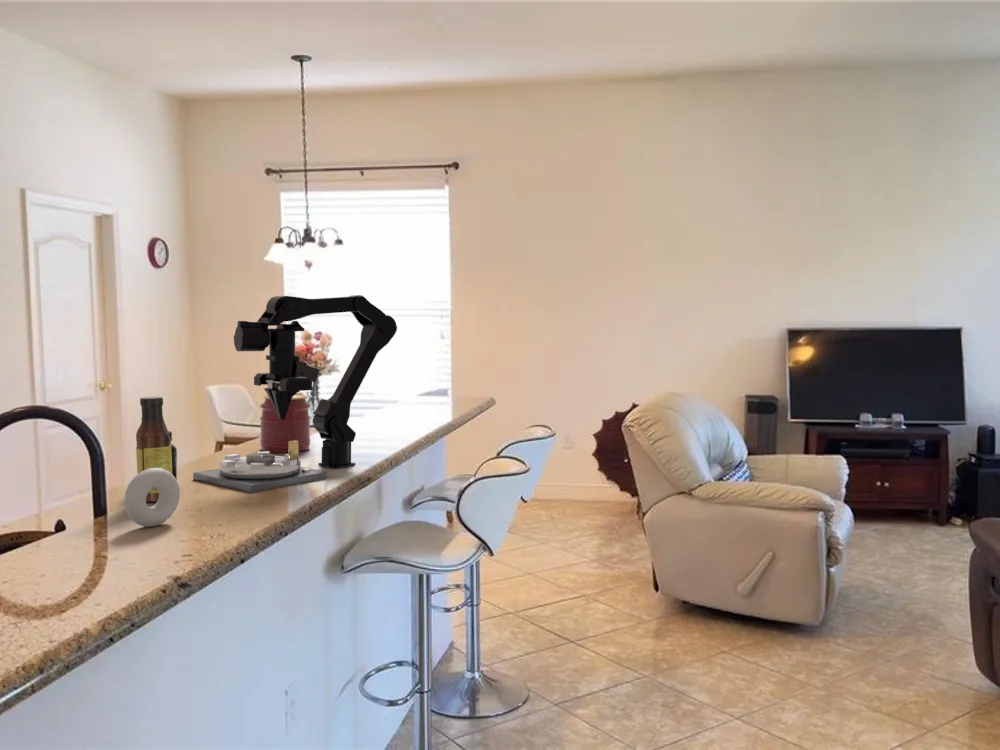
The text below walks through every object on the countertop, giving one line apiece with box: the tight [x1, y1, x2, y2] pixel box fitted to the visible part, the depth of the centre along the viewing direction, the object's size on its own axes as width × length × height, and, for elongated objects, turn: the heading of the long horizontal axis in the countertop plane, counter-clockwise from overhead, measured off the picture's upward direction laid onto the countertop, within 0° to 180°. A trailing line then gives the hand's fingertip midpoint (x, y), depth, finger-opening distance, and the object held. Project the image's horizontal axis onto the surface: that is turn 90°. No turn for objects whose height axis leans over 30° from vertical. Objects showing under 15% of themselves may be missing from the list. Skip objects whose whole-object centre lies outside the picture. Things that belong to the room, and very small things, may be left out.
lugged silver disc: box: [219, 441, 302, 479], centre depth 184 cm, size 17×17×6 cm
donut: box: [123, 468, 181, 528], centre depth 142 cm, size 10×4×10 cm, turn 148°
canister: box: [259, 391, 311, 454], centre depth 223 cm, size 13×13×18 cm
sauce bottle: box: [135, 396, 172, 503], centre depth 161 cm, size 7×6×20 cm
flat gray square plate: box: [192, 466, 328, 494], centre depth 184 cm, size 20×20×2 cm
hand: (282, 419), depth 193 cm, fingers closed
